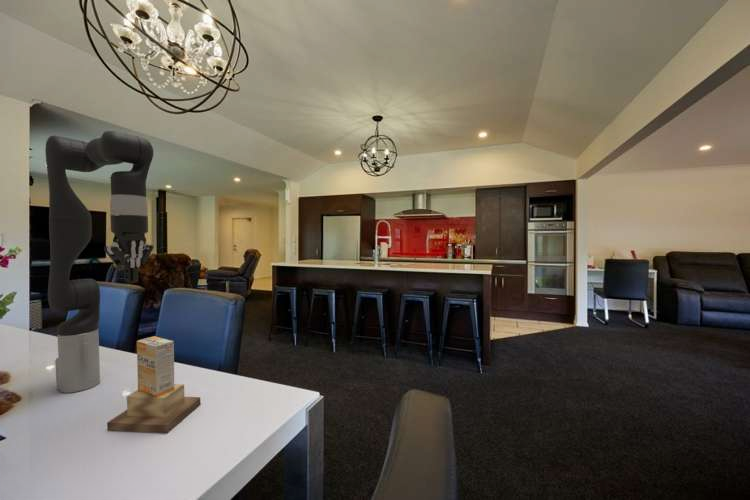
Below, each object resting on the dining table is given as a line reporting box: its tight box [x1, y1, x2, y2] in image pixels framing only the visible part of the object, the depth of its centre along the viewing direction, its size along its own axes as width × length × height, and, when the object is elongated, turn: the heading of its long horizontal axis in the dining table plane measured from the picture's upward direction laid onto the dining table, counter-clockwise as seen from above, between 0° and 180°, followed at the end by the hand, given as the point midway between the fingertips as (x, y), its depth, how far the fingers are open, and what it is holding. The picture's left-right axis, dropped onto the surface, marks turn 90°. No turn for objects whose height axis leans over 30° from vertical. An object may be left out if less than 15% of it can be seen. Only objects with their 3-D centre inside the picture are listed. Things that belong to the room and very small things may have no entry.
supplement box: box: [136, 335, 175, 397], centre depth 81 cm, size 8×5×13 cm, turn 65°
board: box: [106, 396, 201, 434], centre depth 82 cm, size 15×13×2 cm
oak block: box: [126, 383, 185, 418], centre depth 82 cm, size 10×7×5 cm
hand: (131, 282), depth 81 cm, fingers closed
